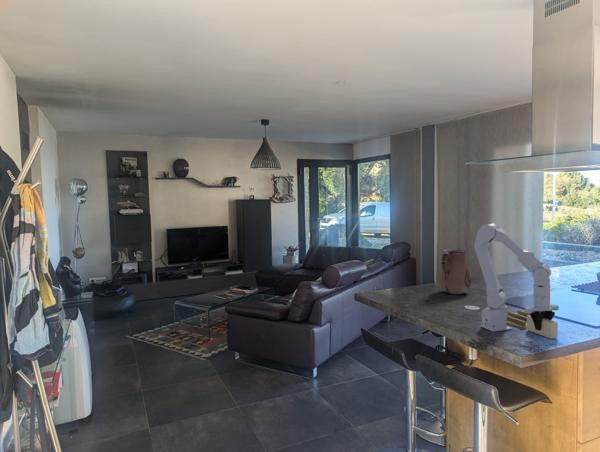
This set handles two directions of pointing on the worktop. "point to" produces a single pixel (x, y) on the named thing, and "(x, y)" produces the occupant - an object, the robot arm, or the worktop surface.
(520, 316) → the ridged tan board
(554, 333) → the cream rectangular block
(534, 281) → the robot arm
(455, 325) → the worktop surface
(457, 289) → the ceramic pitcher
